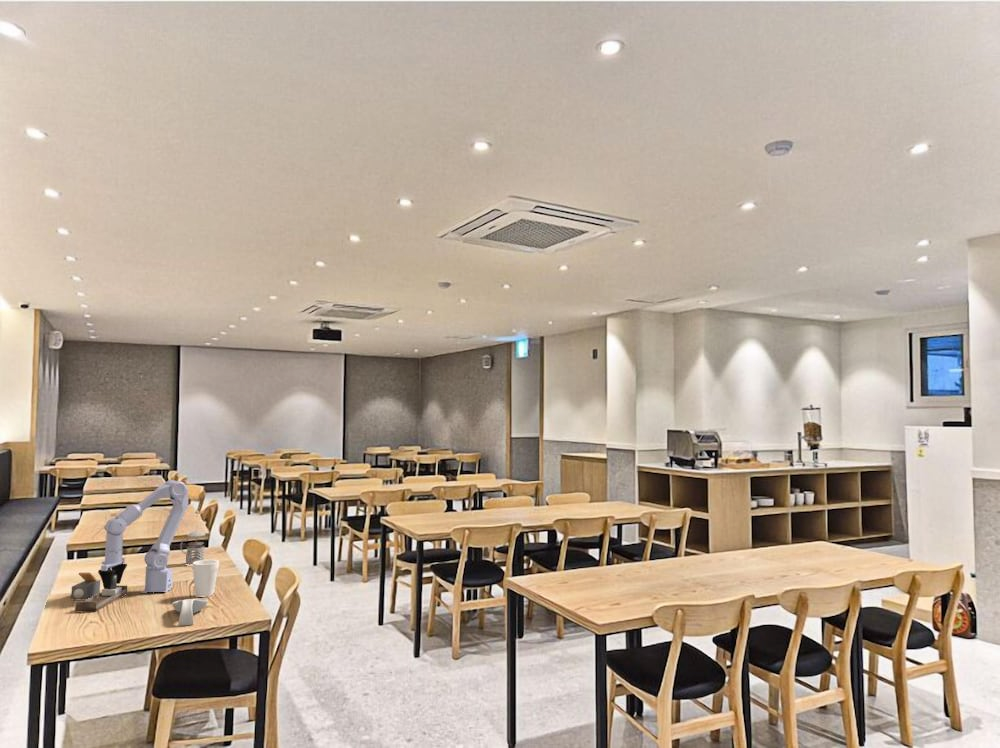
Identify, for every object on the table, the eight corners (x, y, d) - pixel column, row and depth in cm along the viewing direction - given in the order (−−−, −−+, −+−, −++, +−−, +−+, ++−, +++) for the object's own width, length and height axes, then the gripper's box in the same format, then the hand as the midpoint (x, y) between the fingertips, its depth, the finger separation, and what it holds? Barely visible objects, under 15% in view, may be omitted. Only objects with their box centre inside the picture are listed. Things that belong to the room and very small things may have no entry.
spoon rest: (173, 609, 246) (174, 589, 247) (208, 606, 251) (208, 586, 251) (167, 628, 225) (168, 606, 225) (205, 624, 229) (206, 603, 229)
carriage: (121, 592, 262) (122, 573, 263) (115, 595, 257) (116, 576, 258) (108, 592, 262) (109, 573, 262) (101, 595, 257) (102, 576, 257)
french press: (204, 565, 317) (206, 512, 318) (177, 566, 314) (179, 512, 316) (208, 561, 326) (210, 509, 328) (182, 562, 323) (184, 509, 325)
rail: (126, 594, 265) (127, 585, 265) (95, 611, 241) (96, 602, 241) (108, 594, 264) (108, 585, 264) (75, 612, 240) (75, 602, 241)
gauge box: (99, 593, 266) (100, 580, 266) (85, 600, 256) (86, 586, 256) (84, 593, 265) (85, 580, 266) (70, 600, 255) (71, 586, 256)
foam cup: (217, 592, 270) (219, 559, 271) (217, 597, 262) (218, 563, 263) (191, 593, 267) (193, 560, 268) (190, 599, 258) (191, 565, 259)
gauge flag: (96, 581, 265) (96, 579, 265) (89, 574, 259) (89, 572, 260) (85, 581, 264) (86, 579, 265) (78, 574, 259) (78, 572, 259)
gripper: (112, 546, 268) (110, 581, 267) (93, 553, 253) (91, 590, 252) (130, 546, 268) (129, 581, 267) (112, 553, 254) (111, 590, 253)
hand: (112, 585), depth 260 cm, fingers open, 7 cm apart
